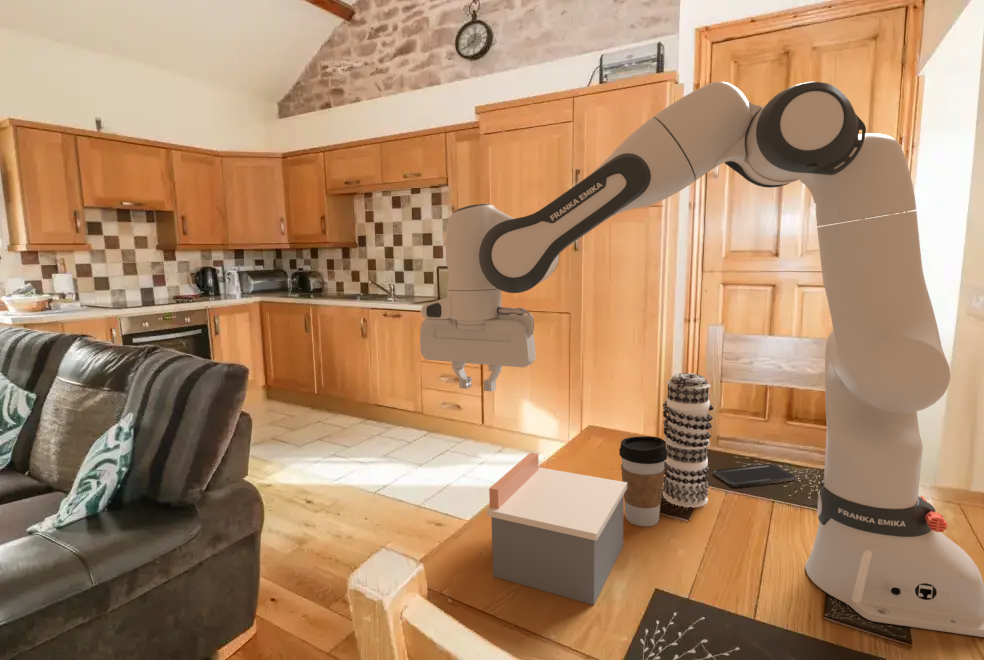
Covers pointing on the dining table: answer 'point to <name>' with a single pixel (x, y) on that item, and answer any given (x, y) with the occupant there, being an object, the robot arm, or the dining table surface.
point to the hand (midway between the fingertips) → (477, 389)
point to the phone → (753, 475)
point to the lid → (555, 499)
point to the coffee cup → (643, 478)
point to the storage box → (557, 557)
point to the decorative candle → (687, 440)
